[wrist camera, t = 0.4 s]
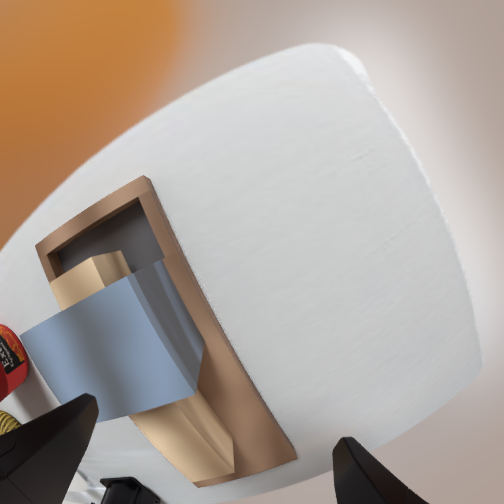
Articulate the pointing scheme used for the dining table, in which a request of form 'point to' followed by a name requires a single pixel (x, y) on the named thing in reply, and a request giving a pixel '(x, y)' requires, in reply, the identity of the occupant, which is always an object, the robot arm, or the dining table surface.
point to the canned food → (11, 362)
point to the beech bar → (169, 415)
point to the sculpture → (7, 422)
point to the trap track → (216, 351)
